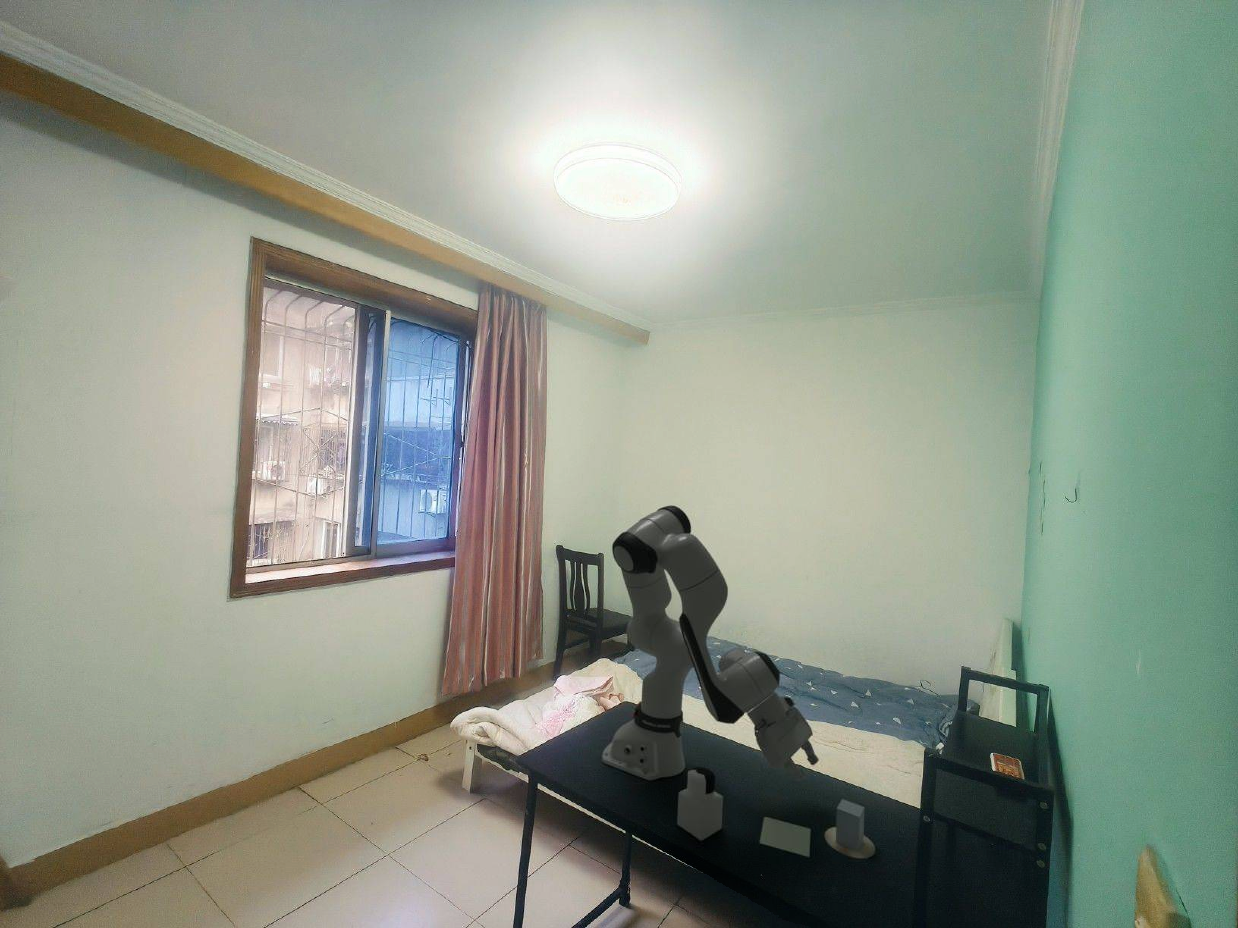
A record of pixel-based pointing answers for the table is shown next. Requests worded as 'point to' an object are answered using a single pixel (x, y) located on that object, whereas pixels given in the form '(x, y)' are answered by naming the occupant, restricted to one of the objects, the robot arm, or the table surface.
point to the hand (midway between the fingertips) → (809, 771)
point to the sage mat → (786, 836)
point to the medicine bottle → (700, 804)
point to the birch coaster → (864, 852)
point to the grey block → (850, 825)
